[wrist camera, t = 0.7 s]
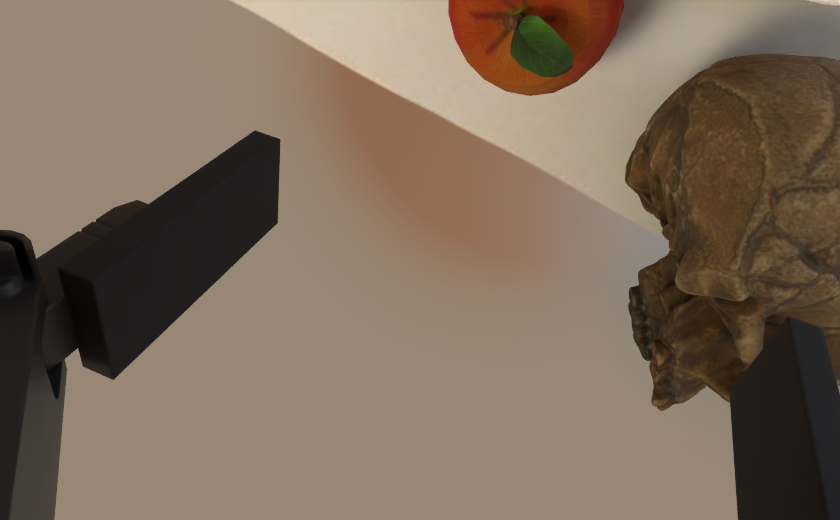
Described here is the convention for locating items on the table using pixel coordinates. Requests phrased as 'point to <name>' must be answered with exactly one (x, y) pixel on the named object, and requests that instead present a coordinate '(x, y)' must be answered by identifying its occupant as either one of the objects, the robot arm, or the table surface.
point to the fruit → (534, 40)
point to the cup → (827, 2)
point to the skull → (738, 219)
